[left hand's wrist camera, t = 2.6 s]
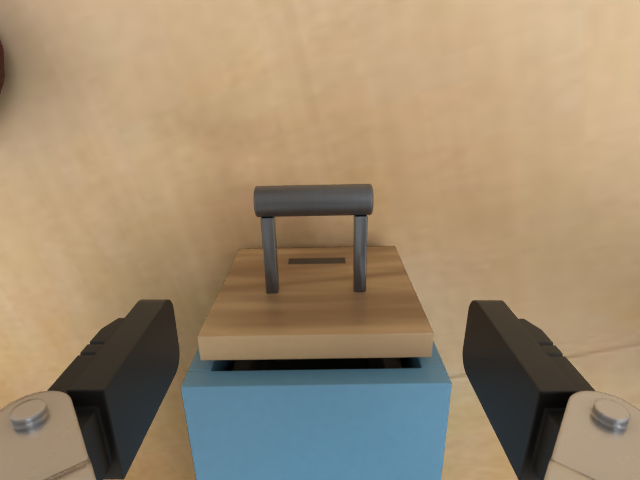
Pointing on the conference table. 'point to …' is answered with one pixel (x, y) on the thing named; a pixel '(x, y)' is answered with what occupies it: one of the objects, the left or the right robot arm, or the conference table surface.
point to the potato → (1, 67)
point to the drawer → (315, 295)
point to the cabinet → (317, 421)
